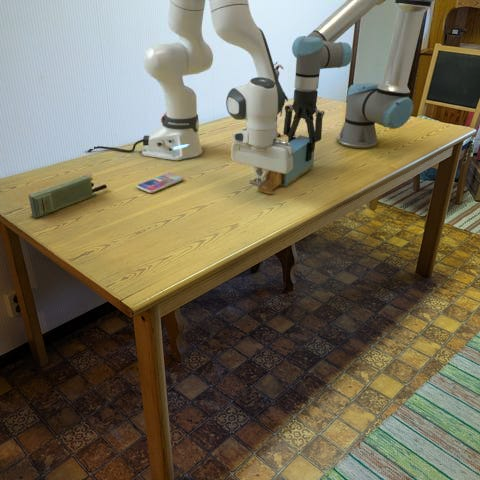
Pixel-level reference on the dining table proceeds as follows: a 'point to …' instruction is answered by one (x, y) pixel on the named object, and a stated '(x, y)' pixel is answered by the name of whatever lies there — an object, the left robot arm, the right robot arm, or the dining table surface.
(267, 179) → the drawer
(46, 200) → the handheld radio
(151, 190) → the smartphone
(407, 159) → the dining table surface
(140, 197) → the dining table surface
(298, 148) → the tall blue open box
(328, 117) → the dining table surface
